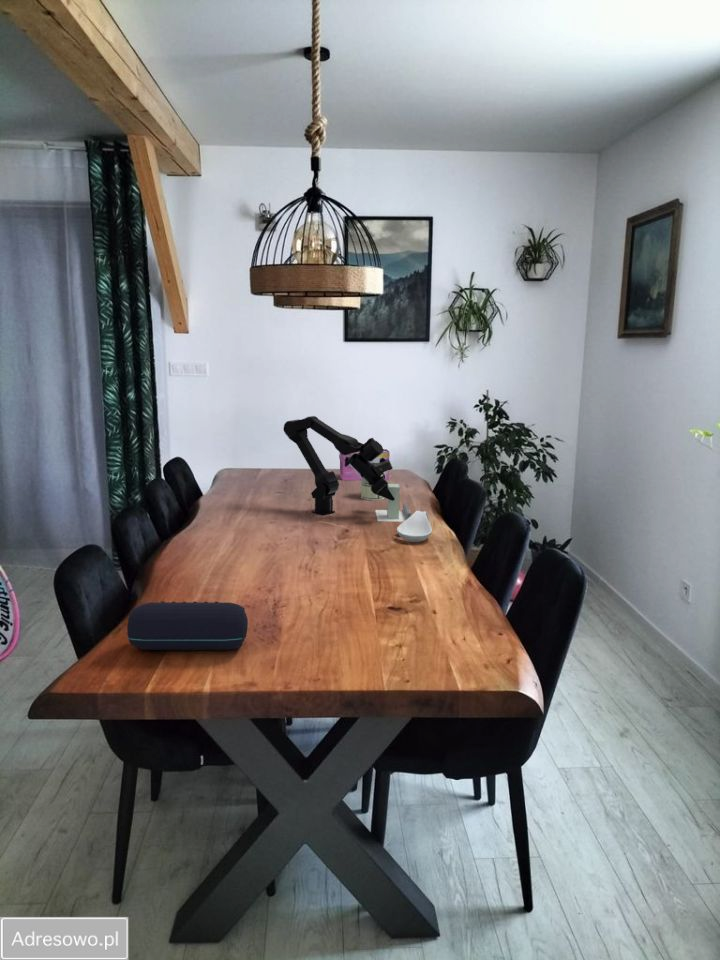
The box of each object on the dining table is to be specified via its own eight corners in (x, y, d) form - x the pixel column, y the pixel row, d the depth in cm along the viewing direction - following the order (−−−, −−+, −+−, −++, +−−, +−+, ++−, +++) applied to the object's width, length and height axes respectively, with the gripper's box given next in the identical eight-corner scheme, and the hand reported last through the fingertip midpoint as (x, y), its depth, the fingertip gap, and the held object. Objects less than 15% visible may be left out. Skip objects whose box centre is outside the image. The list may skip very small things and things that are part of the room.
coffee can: (361, 494, 286) (362, 462, 283) (385, 495, 285) (386, 463, 282) (359, 500, 276) (360, 466, 273) (384, 501, 275) (385, 467, 272)
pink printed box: (339, 480, 313) (339, 452, 310) (337, 477, 320) (337, 449, 317) (389, 479, 317) (390, 451, 314) (385, 476, 325) (386, 448, 322)
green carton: (399, 519, 246) (400, 487, 243) (387, 518, 245) (388, 487, 243) (397, 515, 251) (399, 484, 248) (386, 514, 251) (387, 483, 248)
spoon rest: (428, 547, 217) (429, 525, 215) (393, 543, 220) (393, 522, 218) (438, 527, 239) (439, 508, 238) (406, 524, 242) (406, 505, 241)
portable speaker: (251, 637, 150) (250, 595, 147) (245, 658, 140) (244, 613, 138) (137, 637, 148) (135, 595, 146) (124, 658, 139) (121, 613, 136)
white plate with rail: (411, 523, 243) (411, 513, 242) (377, 523, 242) (377, 513, 241) (406, 512, 258) (407, 502, 257) (375, 511, 258) (375, 502, 257)
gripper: (381, 456, 234) (411, 488, 237) (378, 447, 252) (406, 476, 255) (358, 478, 235) (388, 509, 238) (357, 467, 253) (384, 496, 256)
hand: (392, 496), depth 247 cm, fingers open, 9 cm apart
